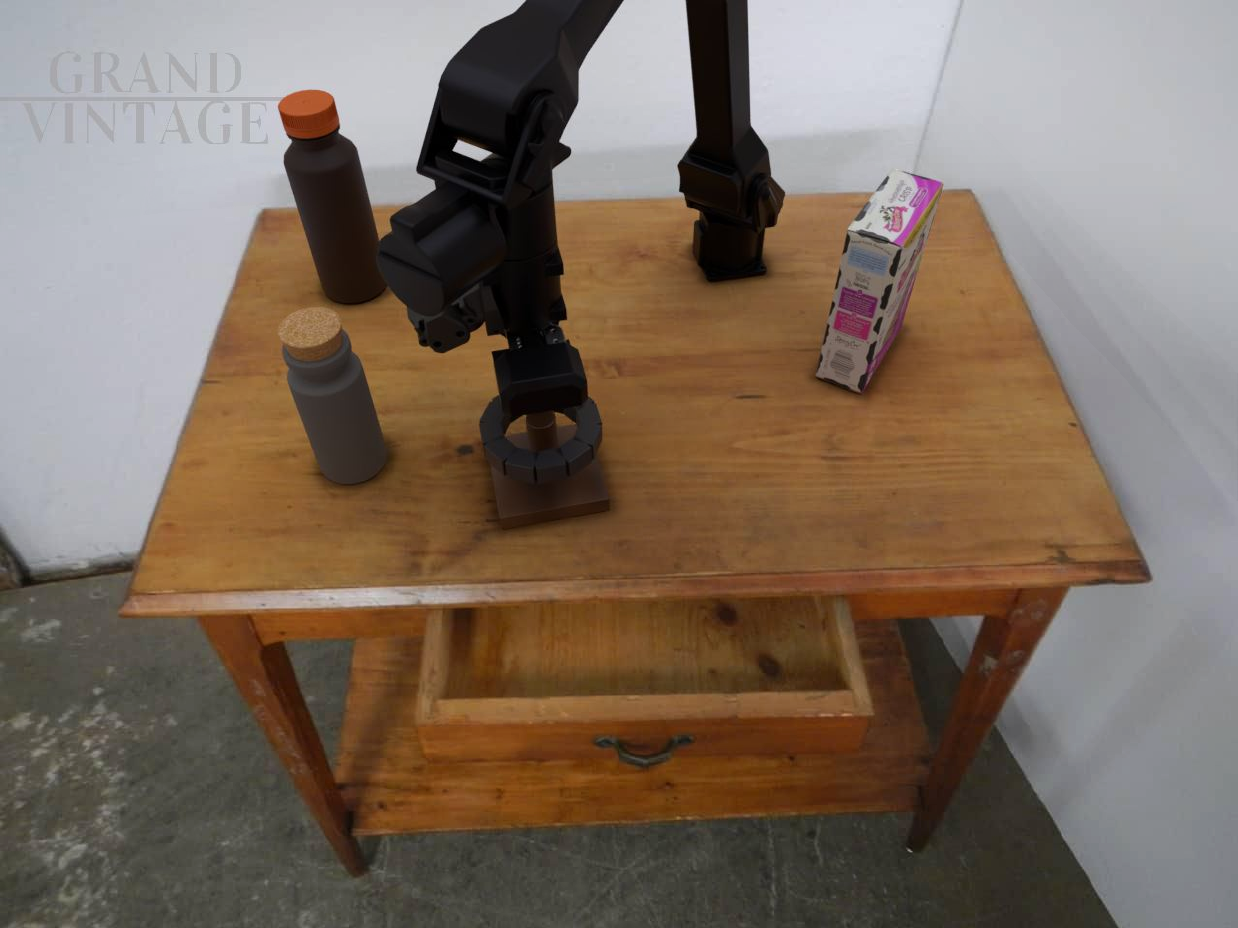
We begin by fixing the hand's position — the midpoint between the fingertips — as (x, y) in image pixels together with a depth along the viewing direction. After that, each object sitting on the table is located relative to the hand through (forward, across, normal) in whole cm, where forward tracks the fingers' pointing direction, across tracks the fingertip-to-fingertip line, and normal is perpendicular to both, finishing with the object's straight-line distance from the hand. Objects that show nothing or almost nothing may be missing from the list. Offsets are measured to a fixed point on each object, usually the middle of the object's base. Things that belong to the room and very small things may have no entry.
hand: (534, 396), depth 78 cm
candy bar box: (+6, -5, +32) cm, 33 cm away
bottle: (+6, -2, -16) cm, 17 cm away
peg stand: (+6, +4, 0) cm, 7 cm away
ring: (+1, +4, 0) cm, 4 cm away
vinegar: (+6, -27, -15) cm, 32 cm away
